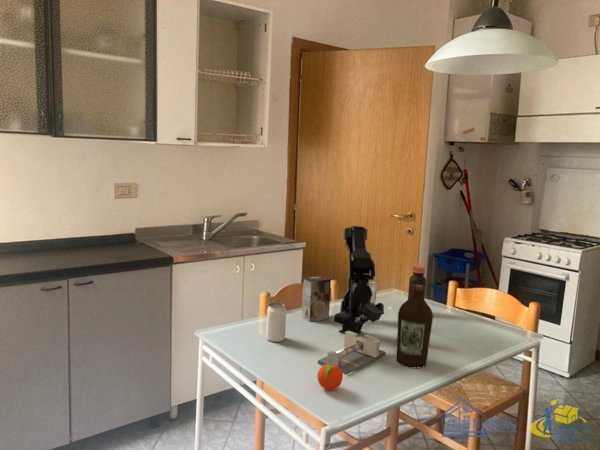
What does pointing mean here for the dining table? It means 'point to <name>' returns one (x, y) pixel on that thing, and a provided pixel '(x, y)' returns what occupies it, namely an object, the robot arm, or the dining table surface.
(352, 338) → the cream flat bar
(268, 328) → the can
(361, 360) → the rail board
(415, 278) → the bottle
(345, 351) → the steel pipe
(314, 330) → the dining table surface
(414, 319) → the olive oil
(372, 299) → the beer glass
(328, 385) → the clementine
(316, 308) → the coffee box
